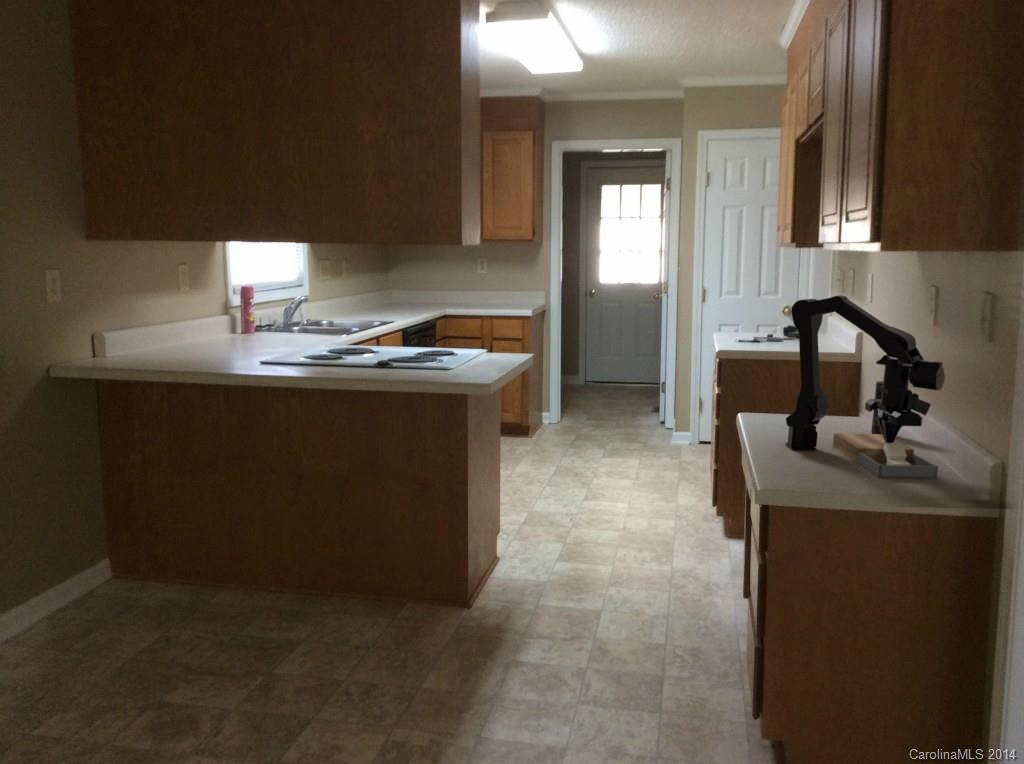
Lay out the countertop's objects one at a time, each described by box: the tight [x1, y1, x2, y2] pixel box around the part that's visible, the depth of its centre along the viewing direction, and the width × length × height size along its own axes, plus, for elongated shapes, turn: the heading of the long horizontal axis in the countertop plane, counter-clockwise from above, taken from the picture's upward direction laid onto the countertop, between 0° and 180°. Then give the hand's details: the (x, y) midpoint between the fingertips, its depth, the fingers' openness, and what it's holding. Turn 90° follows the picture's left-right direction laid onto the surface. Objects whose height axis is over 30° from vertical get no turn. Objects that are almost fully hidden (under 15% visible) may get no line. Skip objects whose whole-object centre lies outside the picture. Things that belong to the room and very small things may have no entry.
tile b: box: [887, 459, 911, 465], centre depth 213 cm, size 4×4×2 cm
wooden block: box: [832, 432, 915, 464], centre depth 227 cm, size 14×16×4 cm
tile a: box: [883, 442, 907, 460], centre depth 216 cm, size 4×4×2 cm
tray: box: [856, 452, 939, 479], centre depth 214 cm, size 14×12×3 cm
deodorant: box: [870, 380, 883, 434], centre depth 251 cm, size 6×6×15 cm
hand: (888, 446), depth 218 cm, fingers closed
